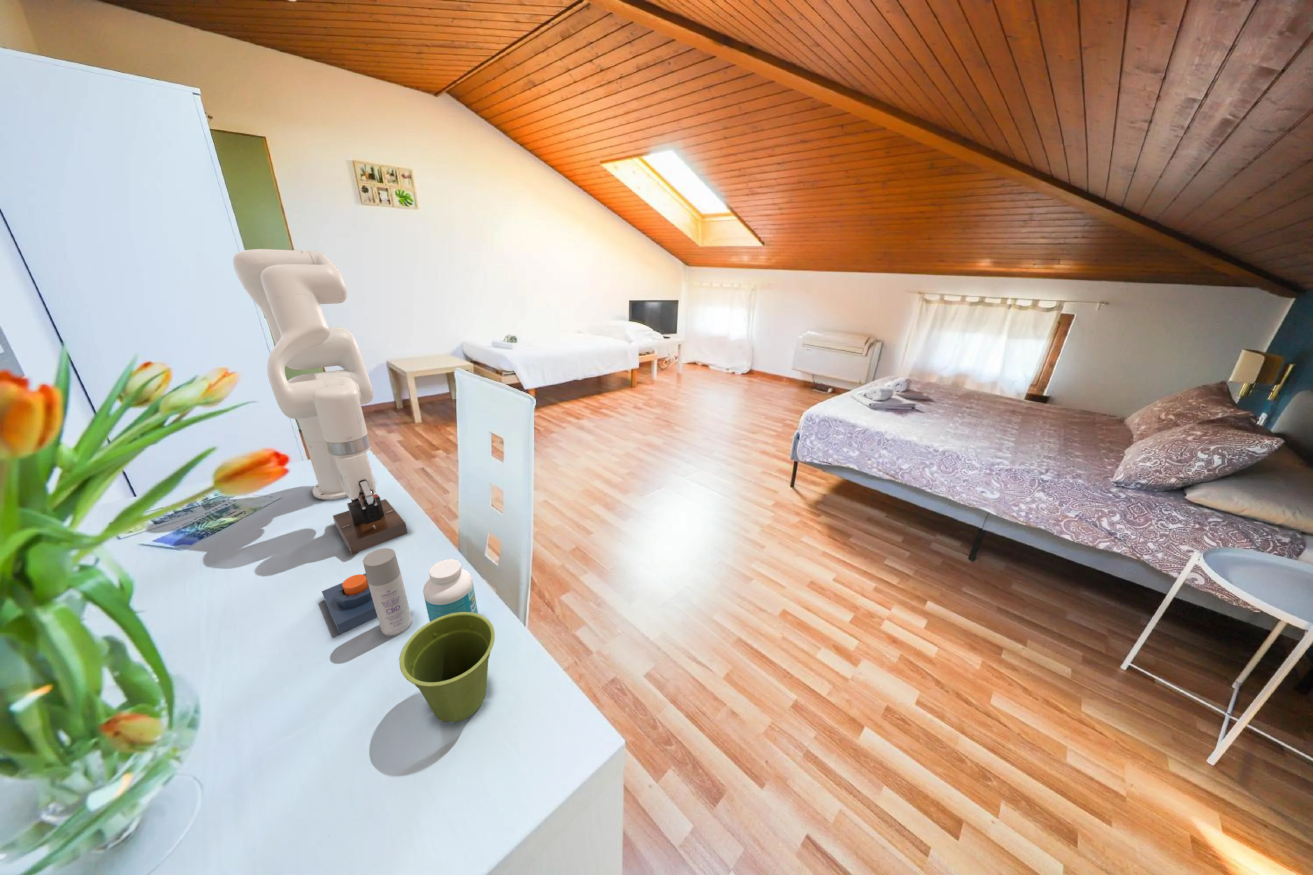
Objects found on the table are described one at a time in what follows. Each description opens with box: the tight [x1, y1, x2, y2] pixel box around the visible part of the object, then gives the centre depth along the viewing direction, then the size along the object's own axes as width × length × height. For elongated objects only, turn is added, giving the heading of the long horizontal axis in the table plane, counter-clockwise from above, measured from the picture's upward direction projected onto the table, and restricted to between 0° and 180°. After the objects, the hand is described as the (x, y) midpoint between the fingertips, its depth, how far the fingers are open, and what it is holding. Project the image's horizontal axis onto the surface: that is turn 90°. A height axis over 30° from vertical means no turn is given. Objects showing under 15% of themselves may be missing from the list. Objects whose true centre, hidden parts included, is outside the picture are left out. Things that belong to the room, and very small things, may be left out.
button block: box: [321, 572, 378, 635], centre depth 78 cm, size 11×9×4 cm
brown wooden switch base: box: [332, 498, 408, 555], centre depth 99 cm, size 14×11×3 cm
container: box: [362, 547, 413, 638], centre depth 72 cm, size 5×5×15 cm
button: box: [342, 573, 368, 596], centre depth 77 cm, size 4×4×2 cm
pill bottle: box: [422, 558, 479, 622], centre depth 72 cm, size 8×7×14 cm
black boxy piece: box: [346, 493, 384, 525], centre depth 97 cm, size 6×2×5 cm, turn 135°
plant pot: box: [399, 612, 496, 723], centre depth 61 cm, size 12×12×11 cm
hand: (366, 512), depth 97 cm, fingers open, 9 cm apart
